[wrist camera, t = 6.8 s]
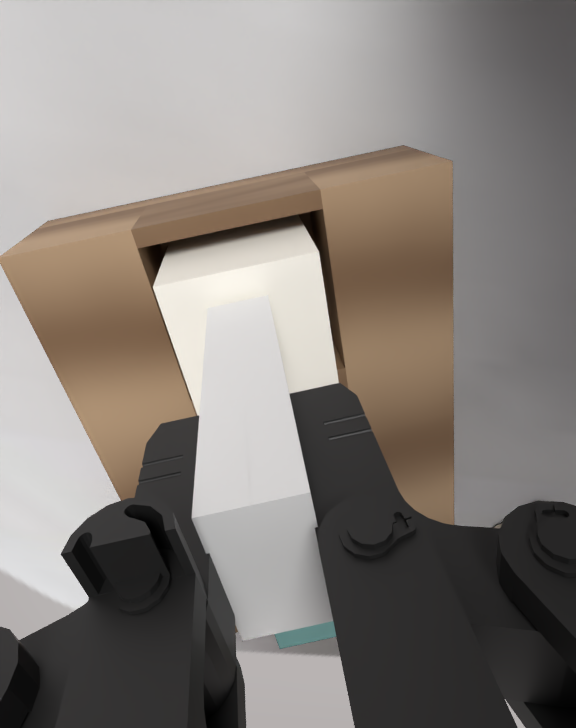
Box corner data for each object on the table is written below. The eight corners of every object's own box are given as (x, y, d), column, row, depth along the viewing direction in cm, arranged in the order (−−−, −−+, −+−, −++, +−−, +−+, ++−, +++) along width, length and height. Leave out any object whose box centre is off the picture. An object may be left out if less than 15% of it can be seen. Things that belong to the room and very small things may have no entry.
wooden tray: (47, 221, 16) (-3, 257, 12) (403, 145, 16) (452, 160, 12) (197, 565, 25) (192, 641, 21) (422, 516, 25) (454, 584, 22)
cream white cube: (170, 240, 15) (152, 287, 11) (297, 213, 15) (319, 251, 11) (204, 352, 17) (199, 420, 13) (316, 328, 17) (339, 389, 13)
